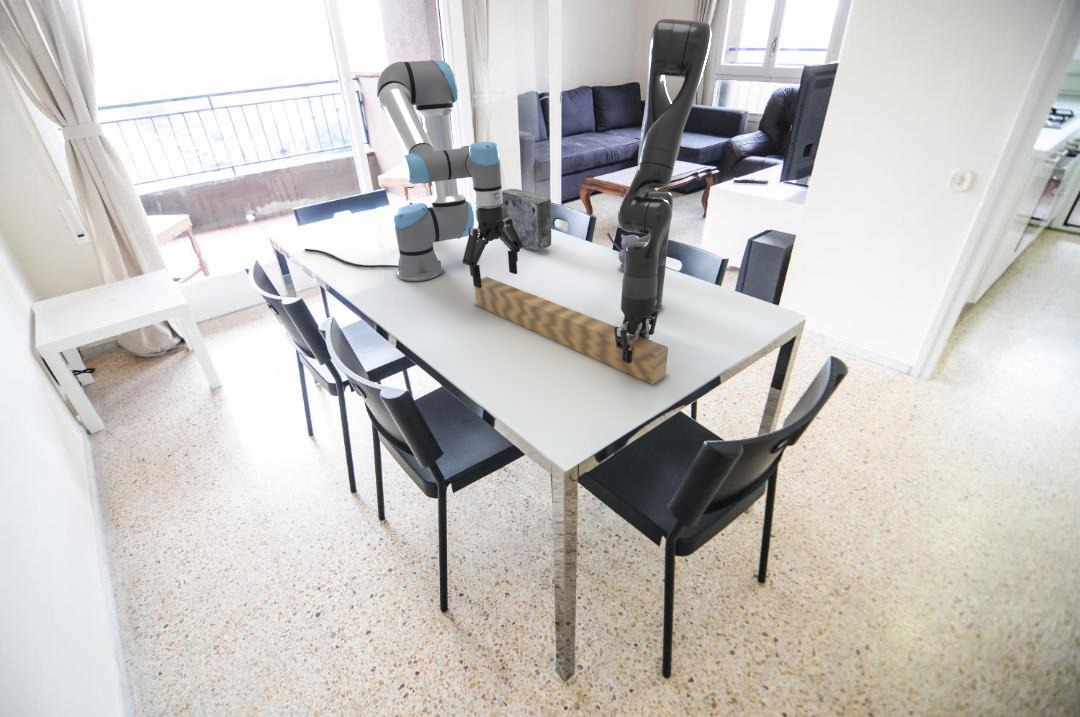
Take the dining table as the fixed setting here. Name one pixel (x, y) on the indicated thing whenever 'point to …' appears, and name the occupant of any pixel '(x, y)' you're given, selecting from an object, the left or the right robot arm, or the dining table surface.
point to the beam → (572, 329)
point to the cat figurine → (625, 242)
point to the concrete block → (528, 217)
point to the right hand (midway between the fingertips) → (634, 357)
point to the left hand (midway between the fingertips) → (496, 279)
